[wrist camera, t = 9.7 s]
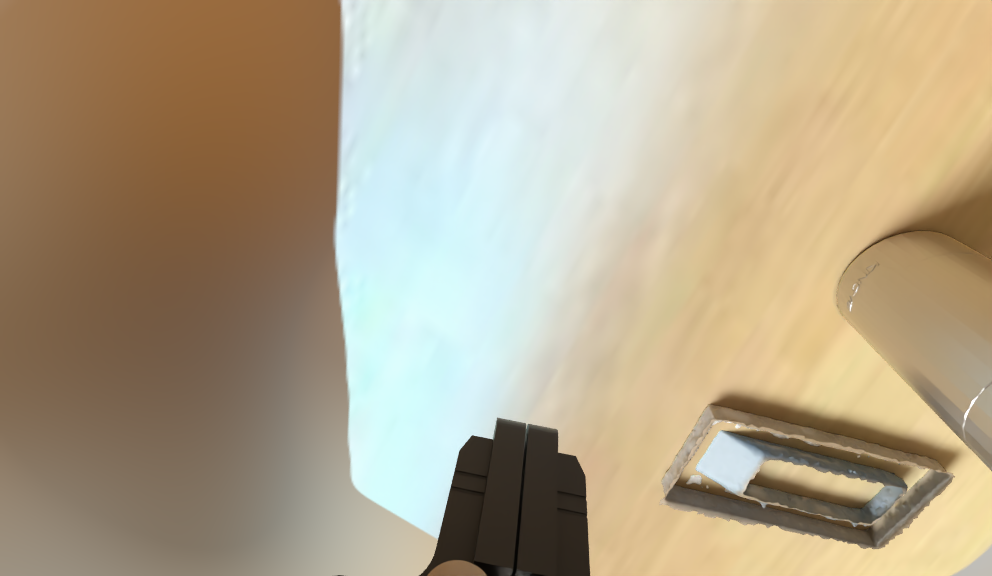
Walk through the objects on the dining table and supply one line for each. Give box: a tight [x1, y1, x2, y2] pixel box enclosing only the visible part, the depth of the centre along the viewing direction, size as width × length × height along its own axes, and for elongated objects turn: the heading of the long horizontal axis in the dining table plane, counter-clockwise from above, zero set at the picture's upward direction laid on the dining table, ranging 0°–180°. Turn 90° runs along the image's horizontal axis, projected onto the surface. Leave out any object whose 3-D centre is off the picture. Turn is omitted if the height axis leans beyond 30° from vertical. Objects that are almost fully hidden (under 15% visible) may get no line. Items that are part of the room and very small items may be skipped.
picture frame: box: [660, 404, 955, 549], centre depth 49 cm, size 13×25×3 cm, turn 78°
